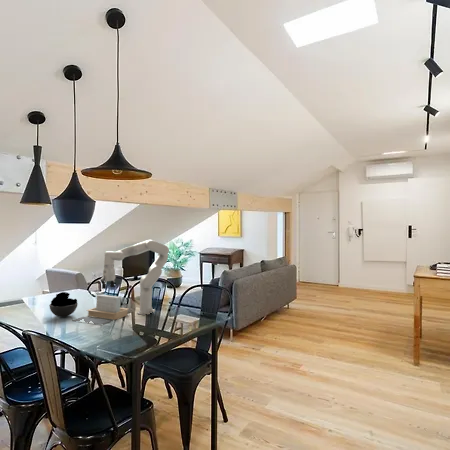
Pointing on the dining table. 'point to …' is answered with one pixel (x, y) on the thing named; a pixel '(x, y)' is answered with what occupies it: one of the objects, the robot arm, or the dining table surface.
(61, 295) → the coal bowl
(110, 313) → the wooden frame
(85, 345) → the dining table surface
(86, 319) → the mat
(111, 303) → the skincare box
